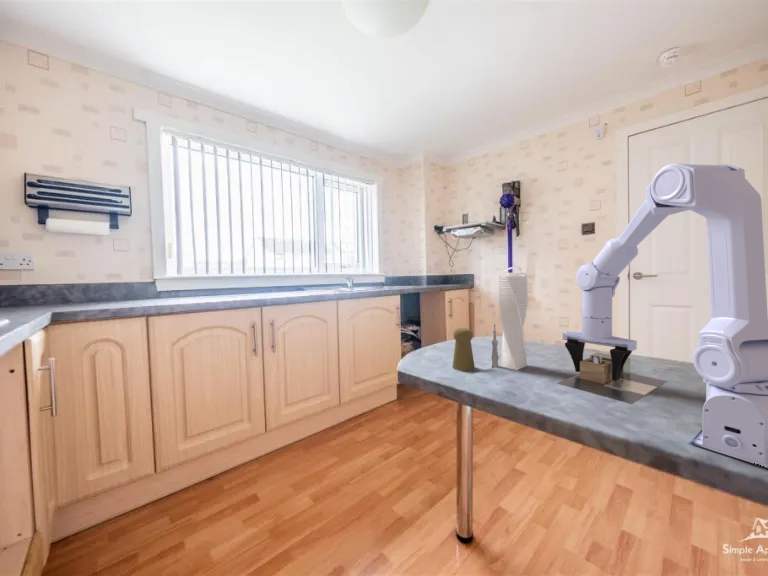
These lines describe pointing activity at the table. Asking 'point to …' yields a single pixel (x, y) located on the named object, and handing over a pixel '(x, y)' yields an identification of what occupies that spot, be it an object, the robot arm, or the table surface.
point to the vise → (616, 383)
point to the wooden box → (596, 371)
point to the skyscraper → (511, 320)
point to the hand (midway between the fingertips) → (596, 375)
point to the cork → (463, 350)
